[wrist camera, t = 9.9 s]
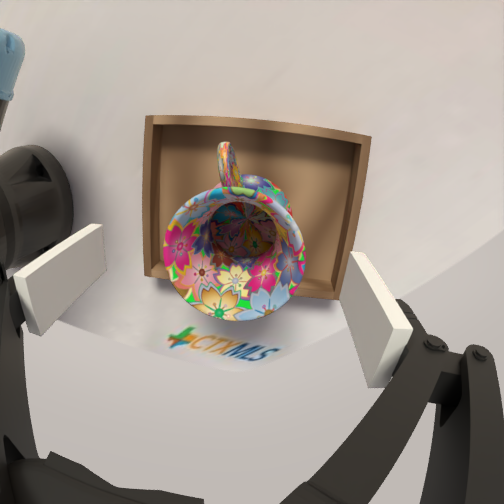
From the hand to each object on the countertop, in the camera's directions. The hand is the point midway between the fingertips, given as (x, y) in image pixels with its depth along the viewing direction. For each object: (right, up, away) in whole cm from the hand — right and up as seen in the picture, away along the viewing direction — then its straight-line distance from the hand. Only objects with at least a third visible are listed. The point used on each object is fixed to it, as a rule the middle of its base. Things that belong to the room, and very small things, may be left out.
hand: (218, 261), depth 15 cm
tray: (+2, +5, +14) cm, 15 cm away
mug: (+1, +5, +14) cm, 15 cm away
